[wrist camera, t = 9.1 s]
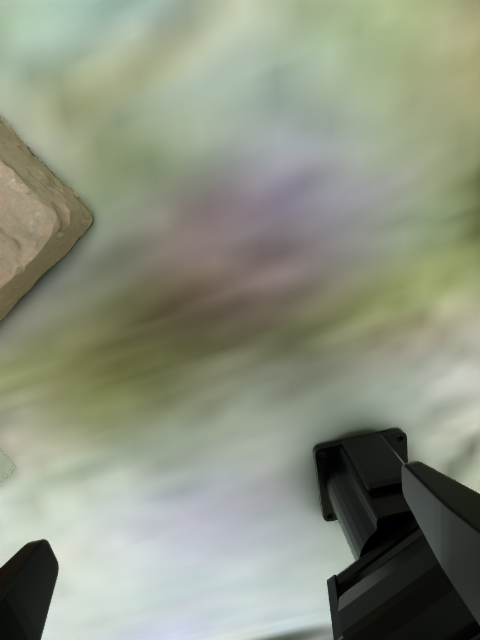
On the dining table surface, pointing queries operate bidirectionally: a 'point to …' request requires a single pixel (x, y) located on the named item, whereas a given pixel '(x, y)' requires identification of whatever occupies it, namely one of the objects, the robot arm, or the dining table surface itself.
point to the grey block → (5, 466)
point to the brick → (32, 219)
